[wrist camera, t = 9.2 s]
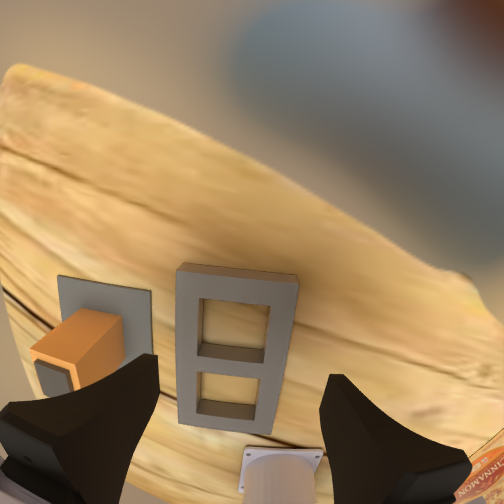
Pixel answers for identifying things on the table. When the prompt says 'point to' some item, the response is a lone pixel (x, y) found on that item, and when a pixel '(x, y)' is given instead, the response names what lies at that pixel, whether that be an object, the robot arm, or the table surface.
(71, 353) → the plug
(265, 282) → the grey flat frame
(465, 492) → the coffeecake box
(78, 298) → the mat
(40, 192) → the table surface
